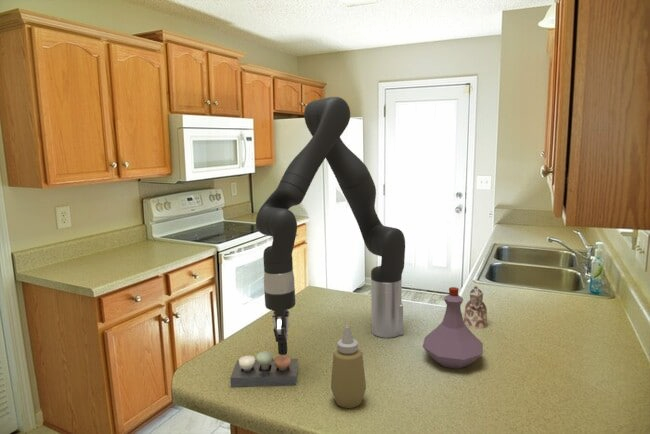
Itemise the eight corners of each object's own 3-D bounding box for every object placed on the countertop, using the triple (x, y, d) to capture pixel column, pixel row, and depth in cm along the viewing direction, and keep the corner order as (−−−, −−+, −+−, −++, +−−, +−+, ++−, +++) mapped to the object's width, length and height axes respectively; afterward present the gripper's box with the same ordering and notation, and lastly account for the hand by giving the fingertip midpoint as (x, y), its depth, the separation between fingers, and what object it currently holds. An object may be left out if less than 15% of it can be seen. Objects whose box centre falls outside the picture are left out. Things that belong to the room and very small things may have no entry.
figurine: (462, 327, 141) (463, 290, 139) (464, 318, 147) (465, 283, 145) (486, 330, 138) (487, 293, 136) (487, 321, 144) (488, 285, 142)
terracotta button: (291, 368, 116) (290, 354, 115) (290, 376, 112) (289, 361, 111) (276, 369, 116) (275, 354, 115) (274, 377, 112) (273, 362, 111)
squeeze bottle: (329, 392, 106) (327, 321, 103) (363, 390, 106) (362, 318, 103) (333, 413, 98) (331, 335, 95) (369, 410, 98) (368, 333, 95)
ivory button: (256, 369, 116) (256, 355, 115) (254, 377, 112) (253, 362, 111) (241, 370, 116) (240, 355, 115) (238, 378, 112) (237, 363, 111)
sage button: (274, 365, 115) (273, 350, 115) (272, 373, 111) (271, 358, 111) (258, 365, 115) (257, 351, 115) (256, 373, 111) (255, 358, 111)
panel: (297, 367, 118) (297, 358, 118) (296, 385, 109) (295, 376, 109) (237, 368, 118) (237, 360, 118) (230, 387, 109) (230, 378, 109)
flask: (409, 362, 119) (410, 290, 116) (438, 341, 131) (439, 275, 128) (469, 382, 108) (471, 304, 105) (494, 357, 121) (496, 286, 117)
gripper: (293, 296, 103) (296, 365, 106) (296, 279, 116) (299, 341, 119) (260, 297, 103) (265, 367, 106) (267, 280, 116) (271, 342, 119)
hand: (283, 353), depth 113 cm, fingers closed
